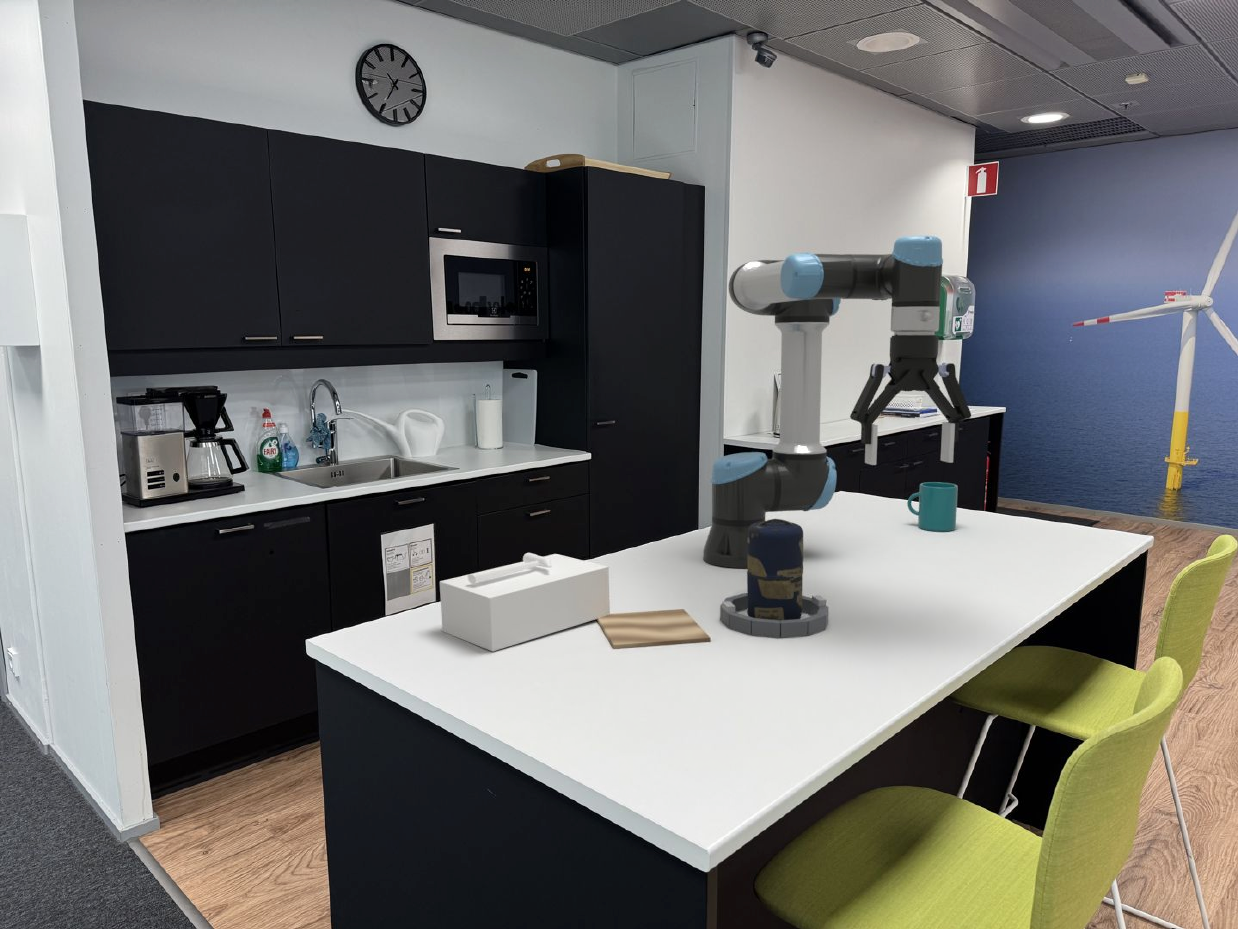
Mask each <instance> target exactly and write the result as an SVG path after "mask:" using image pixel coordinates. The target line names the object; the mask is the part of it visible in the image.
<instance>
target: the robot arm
mask: <svg viewBox="0 0 1238 929" xmlns="http://www.w3.org/2000/svg"><path fill="white" fill-rule="evenodd" d="M943 264H944V259H943V242H942V240H941V238H940V237H938V236H934V235H933V236H932V235H911V236H902V237H898V238H896V240H895V242H894V243H893V250H892V253H889V254H887V253H885V254H867V253H865V254H863V253H862V254H860V253H859V254H858V253H857V254H856V253H851V254H849V253H847V254H846V253H845V254H838V253H837V254H835V253H812V252H803V253H802V252H801V253H793V254H790V255H787V257H785V259H781V260H780V259H778V260H777V259H774V260H772V259H761V260H760V259H759V260H752V261H749V262H747V263H746V262H745V263H743V264H741V265H739V267H737V268H736V269H735V270H734V271H733V273H732V274H731V276H730V278H729V282H728V293H729V297H730V299H731V301H732V302H733V303H734V305H735V306H736V307H737V308H739V309H740V310H742V311H743V312H746V313H749V314H751V315H757V316H758V315H759V316H773V317H774V326H775V327H776V328H777V329H778V330H779V331H780V334H781V341H780V342H781V349H780V351H781V352H780V354H781V356H780V359H781V360H780V404H779V405H780V406H779V408H780V410H779V411H780V412H779V413H780V415H779V443H778V444H776V446H774V447H773V449H772V458H768V456H767V455H766V453H764V452H759V451H751V452H750V451H749V452H739V453H733V454H732V453H731V454H728V455H724V456H721V457H719V458H718V459H716V460H715V461H714V463H713V466H712V472H711V473H712V475H711V481H710V482H711V525H710V530H709V533H708V535H707V537H706V538H707V539H706V541H705V544H704V548H703V560H704V562H706V563H708V564H710V565H713V566H718V567H723V568H724V567H725V568H732V569H733V568H735V569H739V568H740V569H741V568H742V569H743V568H744V569H745V568H747V569H748V554H747V553H748V528H749V526H750V525H752V524H754V523H757V522H762V521H766V516H767V513H774V512H775V513H777V512H791V511H792V512H793V511H794V512H796V511H803V512H809V511H815V510H821V509H824V508H825V507H827V505H828V504H829V503H830V502H831V500H832V499H833V496H834V494H835V490H836V485H837V470H836V463H835V462H834V460H833V459H832V457H828V456H827V449H826V448H825V447H824V446H823V445H822V444H821V442H820V441H821V439H820V438H821V436H820V435H821V401H822V400H821V396H822V395H821V394H822V393H821V392H822V354H823V352H822V350H823V349H822V348H823V343H822V342H823V331H824V330H826V328H827V327H828V326H829V325H830V320H831V319H830V318H831V317H833V316H834V315H836V314H837V313H838V311H839V309H840V304H841V301H842V300H873V301H887V300H889V299H891V313H890V314H891V315H890V331H891V332H892V333H893V335H891V337H889V364H888V365H884V364H881V363H873V364H871V366H870V370H869V377H868V379H867V382H866V383H865V385H864V387H863V388H862V391H861V392H860V395H859V397H858V398H857V401H856V403H855V405H854V407H853V409H852V410H851V413H850V415H849V417H850V419H851V420H853V421H856V422H859V424H860V425H861V426H860V427H861V428H860V442H861V444H864V445H865V448H864V451H865V452H864V463H865V464H867V465H871V466H876V465H877V459H878V458H877V455H878V453H877V452H878V451H877V450H878V430H879V429H878V428H879V425H878V424H873V423H875V421H876V420H877V419H878V417H879V416H880V415H881V414H882V413H883V411H884V410H886V408H887V407H888V406H889V404H890V403H891V402H892V400H894V398H895V397H896V396H897V395H899V393H901V392H912V391H917V392H925V393H926V394H927V395H928V396H929V398H930V399H931V401H932V402H933V403H934V405H936V407H937V408H938V410H939V411H940V412H941V414H942V415H943V416H944V418H945V419H946V420H947V421H948V422H947V421H942V423H941V424H942V425H941V442H940V443H941V446H940V461H942V462H945V463H951V464H952V463H954V454H955V452H954V449H955V442H956V443H958V441H959V437H960V436H959V435H960V434H959V433H960V432H959V431H960V424H962V423H964V420H968V419H970V418H971V417H972V413H971V411H970V408H969V405H968V403H967V400H966V398H965V396H964V393H963V390H962V389H961V386H960V383H959V381H958V378H957V377H956V376H957V375H956V374H957V372H956V365H955V363H953V362H952V363H951V362H943V363H941V364H938V361H937V359H938V356H939V337H938V335H936V334H935V332H938V331H940V330H939V329H940V312H941V310H940V307H941V306H940V305H941V293H942V292H941V291H942V277H943ZM887 375H888V376H889V378H890V380H889V381H888V383H887V384H886V385H885V387H884V389H883V390H882V392H881V393H880V394H879V395H878V396H877V397H876V399H875V400H874V398H875V395H876V394H877V391H878V390H879V389H880V385H881V384H882V381H883V379H884V378H886V376H887ZM937 375H939V376H940V377H941V380H942V383H943V385H944V388H945V390H946V393H947V394H948V397H949V400H950V401H949V400H948V398H947V397H946V396H945V394H944V393H943V391H942V390H941V389H940V388H941V387H940V386H939V384H938V383H937V381H935V378H936V376H937ZM873 400H874V401H873ZM872 402H873V403H872Z"/></svg>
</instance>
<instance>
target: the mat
mask: <svg viewBox="0 0 1238 929" xmlns="http://www.w3.org/2000/svg"><path fill="white" fill-rule="evenodd" d="M595 620H596V621H597V622H598V625H599V626H600V628H601V630H602V631H603V633H604V634H605V636H606V638H607V640H608V641H609V643H610V645H611V646H612V648H613V649H626V648H627V649H628V648H639V647H640V648H641V647H653V646H654V647H655V646H667V645H679V644H680V645H681V644H695V643H705V642H706V643H708V642H711V637H710V635H709V634H708V633H707V632H706V631H705V630H704V629H703V628H702V627H701V626H700V625H699V624H698V622H696V620H695V619H694V618H693V617H692V616H691V615H690V614H689V613H688V612H687V611H686V610H685V608H679V609H665V610H648V611H633V612H620V613H619V612H618V613H610V615H607V616H604V617H601V618H598V619H595Z"/></svg>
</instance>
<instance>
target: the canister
mask: <svg viewBox="0 0 1238 929" xmlns="http://www.w3.org/2000/svg"><path fill="white" fill-rule="evenodd" d="M747 554H748V568H747V572H746V577H747V578H746V584H747V585H746V586H747V588H746V589H747V591H746V593H748V607H747V609H746V614H747V616H749V617H753V618H758V619H769V620H793V619H802V615H803V612H802V596H803V583H804V582H803V581H804V580H803V574H804V530H803V528H802V526H801V525H799V524H797V523H795V522H791V521H788V520H785V519H782V518H781V519H779V518H772V519H771V518H770V519H768V520H765V521H762V522H757V523H754V524H752V525H750V526H749V528H748V553H747Z"/></svg>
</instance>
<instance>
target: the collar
mask: <svg viewBox="0 0 1238 929" xmlns="http://www.w3.org/2000/svg"><path fill="white" fill-rule="evenodd" d="M747 607H748V593H747V592H744V593H740V594H736V595H733V596H730V597H726V598H724V600H723V601H721V604H720V608H719V612H720V613H719V619H720V621H721V622H722V623H723V624H724V625H725V627H727V628H728V629H730V630H732V631H733V630H734V631H736V632H740V633H742V634H745V635H749V636H756V637H766V638H774V639H787V638H800V637H801V638H802V637H809V636H812V635H815V634H817V633H820V632H824V631H825V630H826V629H827V625H828V624H829V606H828V605H827V599H826V598H824V597H823V596H821V595H820V594H819V595H811V597H810V596H807V595H802V613H805V614H807V613H808V615H810V616H807V617H803V618H800V619H793V620H769V619H758V618H753V617H749V616H748V615H745V614H742V613H739V612H741V611H742V612H743V611H745V610H747Z"/></svg>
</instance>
